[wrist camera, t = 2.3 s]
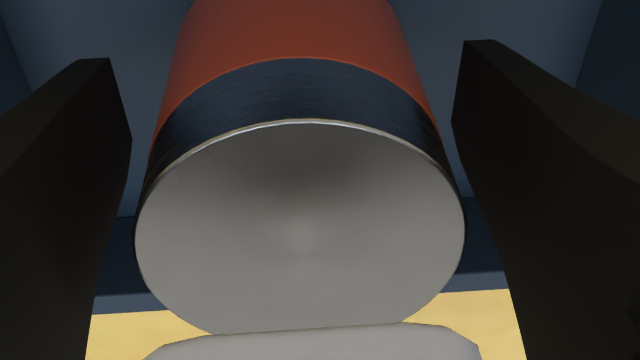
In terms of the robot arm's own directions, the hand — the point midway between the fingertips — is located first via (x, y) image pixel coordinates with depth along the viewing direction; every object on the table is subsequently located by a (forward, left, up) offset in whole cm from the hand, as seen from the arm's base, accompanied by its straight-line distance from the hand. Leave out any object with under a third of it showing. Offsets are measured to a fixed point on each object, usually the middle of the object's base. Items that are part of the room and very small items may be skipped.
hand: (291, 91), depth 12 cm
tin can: (0, 0, -2) cm, 2 cm away
